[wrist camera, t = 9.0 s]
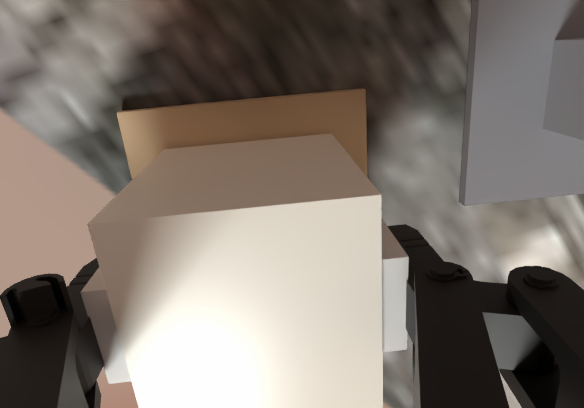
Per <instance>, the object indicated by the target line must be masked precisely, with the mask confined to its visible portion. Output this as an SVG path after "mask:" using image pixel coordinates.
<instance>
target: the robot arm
mask: <svg viewBox="0 0 584 408" xmlns="http://www.w3.org/2000/svg"><path fill="white" fill-rule="evenodd" d="M381 227H382V352H388V351H397V350H406V349H407V332H408V334H409V336H410V338H411V340H412V342H413V358H412V382H413V397H414V408H509V405H508V401H507V398H506V394H505V391H504V387H503V384H502V380H501V377H500V373H501V375H502V376H503V378H504V380H505V381H506V383H507V384H508V386H509V388H510V389H511V391H512V392H513V394H514V396H515V397H516V399H517V400H518V402H519V404H520V405H521V407H522V408H584V290H583V289H582V288H581V287H579V286H578V285H577V284H576V283H575V282H573V281H572V280H571V279H570V278H568V277H567V276H565V275H564V274H562V273H560V272H557V271H554V270H552V269H550V268H546V267H541V266H524V267H518V268H515V269H513V270H512V271H510V273H509V276H508V283H507V284H502V283H489V282H480V281H474V280H473V277H472V275H471V274H470V272H469V271H468V270H467V269H465V268H464V267H462V266H460V265H457V264H454V263H451V262H444V261H443V260H442V259H441V257H440V256H439V255H438V254H437V253H436V252H435V250H434V249H433V248H432V247H431V246H429V243H428V242H427V241H426V240H425V239H424V237H423V236H422V235H421V234H420V233H419V232H418V230H416V229H414V228H412V227H410V226H408V225H406V224H405V225H395V226H387V225H386V224H385V222H384V221H383V220H382V218H381ZM0 299H1V302H2V305H3V307H4V310H5V312H6V315H7V317H8V320H9V322H10V325H11V329H10V331H9V334H8V336H6V337H2V338H0V408H100V402H101V393H100V390H99V386H98V383H97V380H96V379H97V378H98V376H99V373H100V371H101V370H102V368H103V367H104V370H105V373H106V376H107V380H108V383H109V384H111V383H120V382H129V381H131V378H130V374H129V371H128V367H127V364H126V360H125V357H124V353H123V349H122V346H121V342H120V339H119V335H118V331H117V328H116V324H115V321H114V317H113V314H112V310H111V306H110V303H109V299H108V296H107V292H106V289H105V285H104V281H103V278H102V274H101V271H100V267H99V264H98V260H97V258H96V259H94V260H93V261H91V262H90V263H88V264H87V265H85V266H84V267H83V268H82V269H81V270H80V272H79V273H78V274H77V275H76V278H74V279H73V280H72V281H71V282H70V284H69V286H67V287H66V284H65V281H64V278H63V276H61V275H58V274H43V275H37V276H34V277H31V278H27V279H24V280H22V281H20V282H18V283H16V284H14V285H12V286H10V287H9V288H7V289H6V290H5V291H4V292H3V293H2V294H1V295H0ZM498 368H499V370H498ZM499 371H500V373H499Z"/></svg>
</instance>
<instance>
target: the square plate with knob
mask: <svg viewBox="0 0 584 408" xmlns="http://www.w3.org/2000/svg"><path fill="white" fill-rule="evenodd" d="M583 193H584V0H472V10H471V25H470V41H469V56H468V71H467V87H466V102H465V118H464V133H463V149H462V164H461V179H460V195H459V202H460V203H462V204H463V205H464V206H467V205H477V204H487V203H496V202H506V201H516V200H525V199H535V198H545V197H554V196H564V195H573V194H583Z"/></svg>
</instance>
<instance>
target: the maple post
mask: <svg viewBox="0 0 584 408" xmlns="http://www.w3.org/2000/svg"><path fill="white" fill-rule="evenodd" d="M117 117H118V121H119V125H120V129H121V134H122V138H123V142H124V147H125V151H126V155H127V160H128V164H129V168H130V173H131V177H132V180H133V179H134V178H135V177H136V176H137V175H138V174H139V173H140V172H141V171H142V170H143V169H144V168H145V167H146V166H147V165H148V164H149V163H150V162H151V161H152V160H153V159H154V158H155V157H156V156H157V155H159V154H160V153H161V152H162V151H163V150H164V149H171V148H182V147H193V146H203V145H214V144H224V143H235V142H245V141H256V140H266V139H277V138H287V137H298V136H308V135H319V134H329V133H332V134H333V136H334V137H335V138H336V139H337V141H338V142H339V143H340V144H341V146H342V147H343V148H344V149H345V151H346V152H347V153H348V154H349V155H350V157H351V158H352V159H353V160H354V162H355V163H356V164H357V165H358V167H359V168H360V169H361V170H362V172H363V173H364V174H365V175H366V176H367V127H366V89H363V88H359V89H349V90H338V91H327V92H317V93H306V94H295V95H284V96H274V97H263V98H252V99H242V100H231V101H220V102H209V103H199V104H188V105H177V106H166V107H156V108H145V109H134V110H124V111H119V112H117Z"/></svg>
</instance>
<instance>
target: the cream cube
mask: <svg viewBox="0 0 584 408" xmlns="http://www.w3.org/2000/svg"><path fill="white" fill-rule="evenodd" d="M88 228H89V231H90V234H91V238H92V241H93V246H94V249H95V253H96V256H97V260H98V264H99V267H100V271H101V274H102V278H103V281H104V285H105V289H106V292H107V296H108V299H109V303H110V306H111V310H112V314H113V317H114V321H115V324H116V328H117V331H118V335H119V339H120V342H121V346H122V349H123V353H124V357H125V360H126V364H127V367H128V371H129V374H130V378H131V382H132V385H133V389H134V392H135V396H136V399H137V403H138V407H139V408H383V359H382V227H381V194H380V193H379V191H378V190H377V189H376V188H375V186H374V185H373V184H372V183H371V181H370V180H369V179H368V178H367V176H366V175H365V174H364V173H363V172H362V170H361V169H360V168H359V167H358V165H357V164H356V163H355V162H354V160H353V159H352V158H351V157H350V155H349V154H348V153H347V152H346V151H345V149H344V148H343V147H342V146H341V144H340V143H339V142H338V141H337V139H336V138H335V137H334V136H333V134H332V133H329V134H319V135H308V136H298V137H287V138H277V139H266V140H256V141H245V142H235V143H224V144H214V145H203V146H193V147H182V148H171V149H164V150H163V151H162V152H161V153H160V154H159V155H157V156H156V157H155V158H154V159H153V160H152V161H151V162H150V163H149V164H148V165H147V166H146V167H145V168H144V169H143V170H142V171H141V172H140V173H139V174H138V175H137V176H136V177H135V178H134V179H133V180H132V181H131V182H130V183H129V184H128V185H127V186H126V187H125V188H124V189H123V190H122V191H121V192H120V193H119V194H118V195H117V196H116V197H115V198H114V199H112V200H111V201H110V202H109V203H108V204H107V205H106V207H104V208H103V209H102V210H101V211H100V212H99V213H98V214H97V215H96V216H95V217H94V218H93V219H92V220H91V221H90V222H89V223H88Z"/></svg>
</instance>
